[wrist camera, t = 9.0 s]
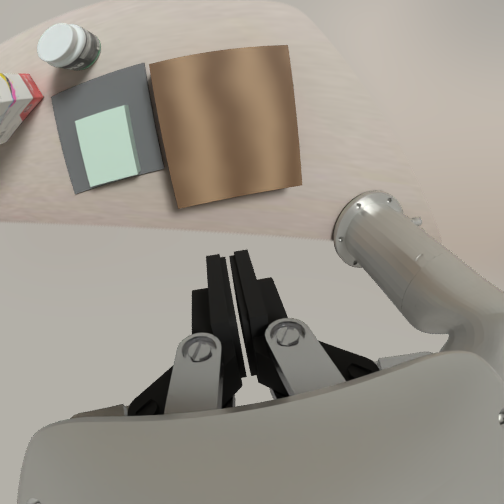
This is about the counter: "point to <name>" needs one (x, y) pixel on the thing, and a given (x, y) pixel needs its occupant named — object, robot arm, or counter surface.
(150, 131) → the mat
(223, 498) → the robot arm
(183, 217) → the counter surface
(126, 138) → the mint green block
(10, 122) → the ink cartridge box
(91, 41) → the pill bottle
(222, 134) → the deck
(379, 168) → the counter surface
